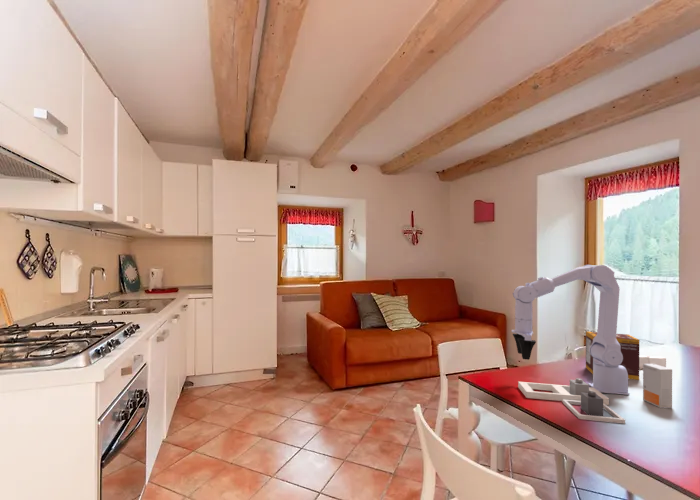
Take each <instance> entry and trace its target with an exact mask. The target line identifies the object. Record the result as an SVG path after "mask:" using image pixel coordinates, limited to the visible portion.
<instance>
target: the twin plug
mask: <svg viewBox="0 0 700 500" xmlns="http://www.w3.org/2000/svg"><path fill="white" fill-rule="evenodd" d="M569 386H570V392H569V393H570V394H571V395H581V392H583V393H588V391H589V387H590V386H589V385H588V383H587V382H585V381H584V380H583V379H582V378H577V377H576V378H575V379H569Z"/></svg>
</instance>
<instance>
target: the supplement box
mask: <svg viewBox="0 0 700 500" xmlns="http://www.w3.org/2000/svg"><path fill="white" fill-rule="evenodd" d="M596 335H597V331H585V368H586V369H587V370H588V371H589V372H590V374H592V375H593V357H592V356H591V355H590V352H589V349H590V346H591V345H592V343H593V338H594V337H595V336H596ZM616 339H617V341H618V342H619V344H620V346H621V353H622V355H623V361H622V363H621V364H620V365H621V366H624V367H625V368H626V370H627V373H628V380H635V381H640V369H639V356H640V339H638V338H636V337H634V336H633V335H630V334H625V333H616Z"/></svg>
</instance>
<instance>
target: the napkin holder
mask: <svg viewBox="0 0 700 500" xmlns="http://www.w3.org/2000/svg"><path fill="white" fill-rule="evenodd" d="M643 364H656V365H659V366H663V367H666V368H667V358H666V357H663V356H650V355H646V356H645V355H639V370H640V369H642V370H643Z"/></svg>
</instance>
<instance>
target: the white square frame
mask: <svg viewBox="0 0 700 500" xmlns="http://www.w3.org/2000/svg"><path fill="white" fill-rule="evenodd" d="M562 403H563V405H564V406H565V407H566V408H567V409H569V411H570V412H571V413H572V414H573V415H574V416H575V417H577V419H579V420H585V421H586V420H588V421H594V422H596V421H598V422H607V423H616V424H617V423H618V424H626V419H625V418H624V417H623V416H622V415H620V414H619V413H617V412H616V411H614V410H613V409H612V408H610V407H609V405H605V404H604V403H603V410H605V411H606V412H607V413H608V414H610V415H611V416H612V417H611V416H593V415H587V414H581V413H580V412H579V411H578V410H577V409H576V408H575V407H574V405H575V406H581V401H575V400H564V399H563V401H562Z"/></svg>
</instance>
